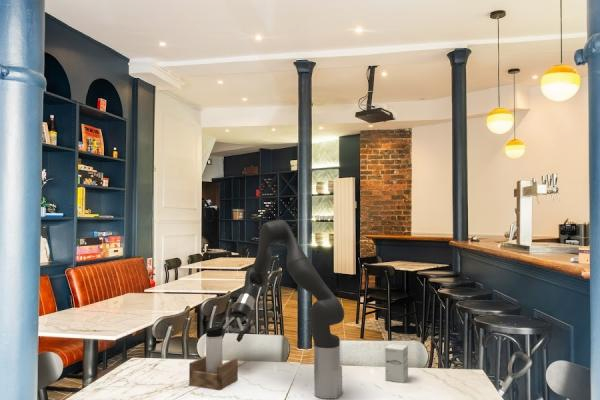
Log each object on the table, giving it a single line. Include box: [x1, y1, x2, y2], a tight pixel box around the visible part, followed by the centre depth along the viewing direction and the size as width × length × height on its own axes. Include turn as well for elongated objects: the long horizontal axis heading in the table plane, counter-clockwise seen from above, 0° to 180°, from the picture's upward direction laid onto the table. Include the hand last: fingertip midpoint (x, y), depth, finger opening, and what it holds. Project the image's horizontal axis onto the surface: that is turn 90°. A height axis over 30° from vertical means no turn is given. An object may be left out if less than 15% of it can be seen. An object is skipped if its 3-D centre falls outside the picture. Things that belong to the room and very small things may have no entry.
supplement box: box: [384, 343, 409, 384], centre depth 179 cm, size 7×7×13 cm
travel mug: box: [205, 326, 223, 374], centre depth 178 cm, size 6×7×20 cm
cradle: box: [188, 355, 239, 391], centre depth 177 cm, size 14×12×8 cm
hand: (229, 339), depth 188 cm, fingers open, 8 cm apart
